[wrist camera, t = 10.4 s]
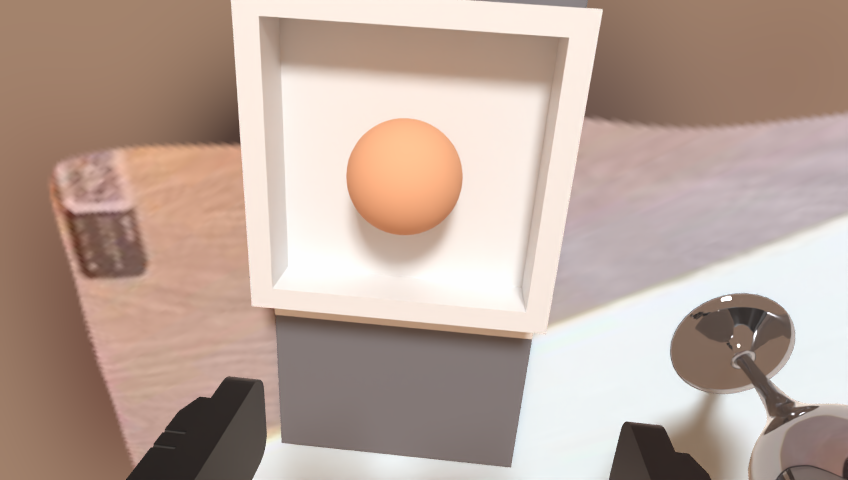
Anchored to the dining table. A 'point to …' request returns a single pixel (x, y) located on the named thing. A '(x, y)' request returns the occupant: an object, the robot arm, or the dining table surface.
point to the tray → (426, 101)
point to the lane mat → (402, 380)
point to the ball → (404, 176)
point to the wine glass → (762, 385)
